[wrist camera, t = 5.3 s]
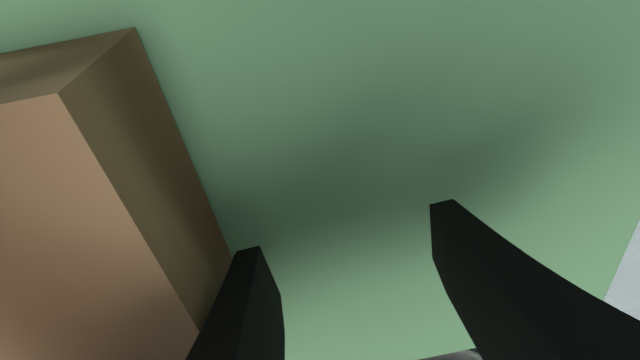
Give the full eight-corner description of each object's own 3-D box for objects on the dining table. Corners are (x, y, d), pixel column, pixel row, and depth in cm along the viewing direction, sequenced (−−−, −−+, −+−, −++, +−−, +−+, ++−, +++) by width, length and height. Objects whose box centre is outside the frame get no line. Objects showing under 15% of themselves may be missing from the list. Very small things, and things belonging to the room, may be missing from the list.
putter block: (134, 27, 8) (57, 93, 5) (271, 350, 15) (273, 456, 12) (-62, 66, 8) (-259, 155, 5) (169, 371, 15) (145, 483, 12)
